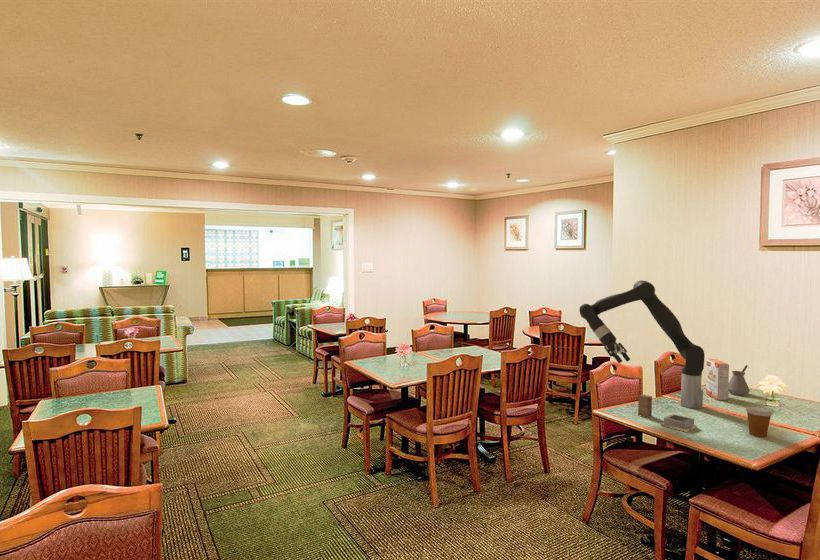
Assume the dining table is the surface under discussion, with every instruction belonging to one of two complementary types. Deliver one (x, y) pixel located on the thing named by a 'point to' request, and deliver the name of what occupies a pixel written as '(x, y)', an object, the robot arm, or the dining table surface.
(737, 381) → the coffee pot
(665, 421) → the gray square tray
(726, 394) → the cracker box
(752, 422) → the disposable coffee cup
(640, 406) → the block
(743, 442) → the dining table surface
